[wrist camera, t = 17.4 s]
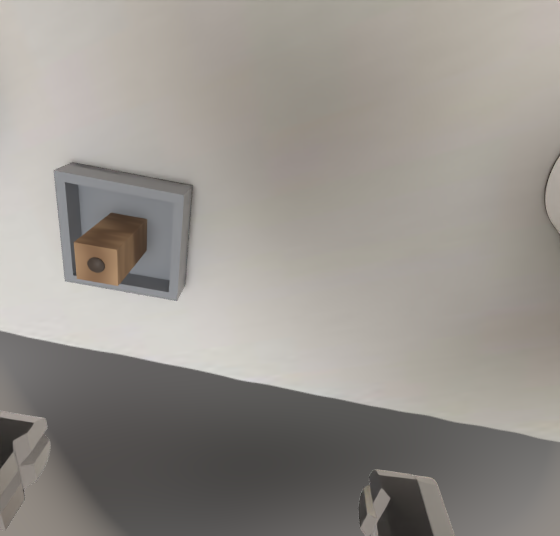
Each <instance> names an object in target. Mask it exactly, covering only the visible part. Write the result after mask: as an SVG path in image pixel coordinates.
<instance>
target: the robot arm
mask: <svg viewBox="0 0 560 536" xmlns="http://www.w3.org/2000/svg"><path fill="white" fill-rule="evenodd" d="M545 204H546V210H547V214H548V216H549V218H550V221H551V222H552V224H553V225H554V226H555V228H556V229H557V230H558V232H559V233H560V157H559V158H558V160H557V162H556V163H555V165H554V167H553V169H552V171H551V174H550V176H549V179H548V183H547V187H546V194H545ZM47 428H48V427H47V423H46V419H45V418H40V417H34V416H28V415H22V414H16V413H10V412H4V411H0V530H6V529H7V527H8V526H9V524H10V523H11V521H12V519H13V518H14V516H15V514H16V513H17V511H18V510H19V508H20V507H21V505H22V504H23V502H24V500H25V494H24V489H25V488H26V487H28V486H30V485H31V484H33V483H34V482H36V481H37V479H38V478H39V476H40V475H41V473H42V471H43V470H44V468H45V465H46V463H47V460H48V458H49V454H50V447H51V446H50V440H49V439H48V438H47V437H46V436H45V435H44V432H45V430H46V429H47ZM369 483H370V485H368V486H366V487H364V488H363V490H362V492H361V495H360V500H359V507H358V511H359V524H360V529H361V530H362V532H363V533H364V535H365V536H455V535H454V532H453V528H452V526H451V523H450V520H449V517H448V514H447V511H446V508H445V505H444V502H443V499H442V496H441V494H440V490H439V488H438V485H437V483H436V481H435V480H434V479H433V478H430V477H422V476H415V475H412V474H405V473H399V472H391V471H384V470H377V469H375V470H373V471H372V472H371V473H370V475H369Z"/></svg>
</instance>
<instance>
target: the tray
mask: <svg viewBox="0 0 560 536" xmlns="http://www.w3.org/2000/svg"><path fill="white" fill-rule="evenodd" d="M54 178H55V188H56V198H57V208H58V218H59V228H60V237H61V247H62V257H63V267H64V277H65V281H67V282H72V283H78V284H84V285H89V286H95V287H101V288H106V289H112V290H118V291H123V292H129V293H135V294H140V295H146V296H152V297H157V298H163V299H169V300H174V301H177V300H178V298H179V296H180V294H181V292H182V290H183V289H184V287H185V279H186V265H187V252H188V239H189V226H190V213H191V200H192V187H193V186H192V185H187V184H182V183H177V182H171V181H166V180H161V179H156V178H151V177H145V176H140V175H135V174H130V173H125V172H120V171H114V170H109V169H104V168H99V167H94V166H88V165H83V164H78V163H73V162H72V163H70V164H67V165H65V166H63V167H60V168H58V169H56V170H54ZM110 213H117V214H122V215H127V216H133V217H138V218H144V219H147V251H146V252H145V253H144V255H143V256H142V257H141V258H140V260H139V261H138V262H137V263H136V265H135V266H134V267H133V268H132V269H131V271H130V272H129V273H128V274H127V276H126V277H125V278H124V279H123V281H122V282H121V283H120V284H119V285H118V286H115V285H109V284H103V283H98V282H92V281H86V280H81V279H77V275H76V263H75V252H74V242H75V241H76V240H77V239H78V238H80V237H81V236H82V235H83V234H85V233H86V232H87V231H88V230H90V229H91V228H92V227H93V226H95V225H96V224H97V223H99V222H100V221H101V220H102V219H104V218H105V217H106V216H107V215H109V214H110Z"/></svg>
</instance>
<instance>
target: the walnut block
mask: <svg viewBox="0 0 560 536" xmlns="http://www.w3.org/2000/svg"><path fill="white" fill-rule="evenodd" d="M146 251H147V219H144V218H138V217H133V216H127V215H122V214H117V213H110V214H109V215H107V216H106V217H105V218H104V219H102V220H101V221H100V222H99V223H97V224H96V225H95V226H93V227H92V228H91V229H90V230H88V231H87V232H86V233H85V234H83V235H82V236H81V237H80V238H78V239H77V240H76V241H75V242H74V252H75V263H76V275H77V279H81V280H86V281H92V282H98V283H103V284H109V285H115V286H118V285H119V284H120V283H121V282H122V281H123V279H124V278H125V277H126V276H127V274H128V273H129V272H130V271H131V269H132V268H133V267H134V266H135V265H136V263H137V262H138V261H139V260H140V258H141V257H142V256H143V255H144V253H145V252H146Z"/></svg>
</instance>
